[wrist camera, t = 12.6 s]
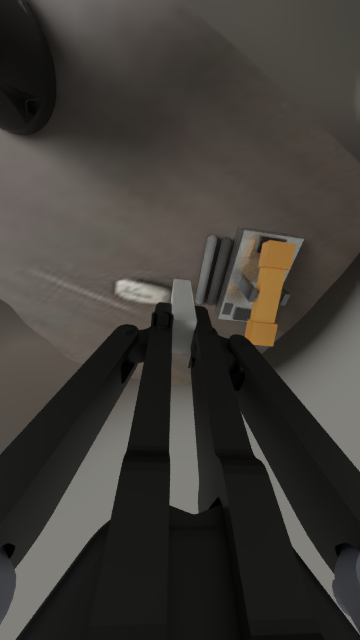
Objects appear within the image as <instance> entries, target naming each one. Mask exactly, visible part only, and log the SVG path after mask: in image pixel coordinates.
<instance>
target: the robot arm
mask: <svg viewBox="0 0 360 640" xmlns="http://www.w3.org/2000/svg"><path fill="white" fill-rule="evenodd" d="M55 97H56V79H55V71H54V65H53V61H52V57H51V53H50V50H49V46H48V44H47V41H46V38H45V36H44V33H43V31H42V29H41V27H40V24H39V22H38V20H37V19H36V17H35V15H34V13H33V11H32V10H31V8H30V7H29V5H28V4H27V2H26V1H25V0H0V128H1V129H3V130H6V131H8V132H11V133H15V134H31V133H34V132H36V131H38V130H40V129H41V128H42V127H43V126H44V125H45V124H46V123H47V122H48V120H49V118H50V116H51V114H52V111H53V108H54V104H55ZM190 350H191V357H190V362H189V366H188V368H190V367H191V380H192V392H193V406H194V419H195V431H196V444H197V458H198V471H199V492H198V510H199V513H198V514H190V513H188V512H185V511H183V510H180V509H177V508H175V507H172V506H170V505H169V498H170V496H169V495H170V456H169V431H170V429H169V428H170V397H171V394H170V393H171V362H172V353H180V354H190ZM140 362H144V365H143V370H142V375H141V381H140V386H139V391H138V396H137V401H136V406H135V411H134V417H133V422H132V427H131V432H130V437H129V442H128V447H127V451H126V454H125V456H124V459H123V462H122V467H121V472H120V476H119V481H118V486H117V491H116V496H115V501H114V506H113V510H112V515H111V520H109V521H108V522H107V523H106V524H104V525H103V526H102V527H101V528H100V529H99V530H98V531H97V532H96V533H95V534H94V535H93V537H92V538H91V539H90V540H89V541H88V543H87V544H86V545H85V547H84V548H83V549H82V551H81V552H80V553H79V555H78V556H77V557H76V559H75V560H74V561H73V563H72V564H71V565H70V567H69V568H68V570H67V571H66V572H65V574H64V575H63V576H62V578H61V579H60V581H59V582H58V583H57V585H56V586H55V587H54V589H53V590H52V591H51V592H50V594H49V596H48V597H47V598H46V599H45V601H44V602H43V603H42V605H41V606H40V607H39V609H38V610H37V611H36V613H35V614H34V615H33V617H32V618H31V619H30V621H29V622H28V624H27V625H26V626H25V628H24V629H23V630H22V632H21V633H20V635H19V636H18V637H17V638H16V640H360V635H359V633H360V472H359V470H358V469H357V468H356V467H355V466H354V465H353V463H352V462H351V461H350V460H349V459H348V457H347V456H346V455H345V454H344V453H343V451H342V450H341V449H340V448H339V447H338V445H337V444H336V443H335V442H334V441H333V439H332V438H331V437H330V436H329V435H328V433H327V432H326V431H325V430H324V429H323V428H322V427H321V425H320V424H319V423H318V422H317V420H316V419H315V418H314V417H313V416H312V414H311V413H310V412H309V411H308V410H307V409H306V407H305V406H304V405H303V404H302V403H301V401H300V400H299V399H298V398H297V396H296V395H295V394H294V393H293V392H292V391H291V389H290V388H289V387H288V386H287V385H286V383H285V382H284V381H283V380H282V379H281V377H280V376H279V375H278V374H277V373H276V372H275V371H274V369H273V368H272V367H271V365H270V364H269V363H268V362H267V361H266V360H265V358H264V357H263V356H262V355H261V354H260V352H259V351H258V350H257V349H256V348H255V346H254V345H253V344H252V343H251V342H250V340H248V339H247V338H246V337H244V336H242V335H232V336H230V338H229V339H227V338H224V337H221V336H219V335H218V333H217V331H216V330H215V329H214V328H213V327H212V325H211V321H210V318H209V315H208V310H207V309H206V308H205V307H202V306H194V301H193V294H192V288H191V282H190V281H188V280H180V279H174V281H173V290H172V298H171V303H162V302H159V303H158V304H157V305H156V308H155V312H153V313H152V320H151V327H149V328H147V329H144V330H138V328H137V327H136V326H134V325H129V324H126V325H121V326H119V327H117V328H116V329H115V330H114V331H113V333H112V334H111V335H110V336H109V337H108V338H107V339H106V340H105V341H104V342H103V343H102V345H101V346H100V347H99V348H98V349H97V350H96V351H95V352H94V353H93V354H92V355H91V357H90V358H89V359H88V360H87V361H86V362H85V363H84V364H83V365H82V367H81V368H80V369H79V370H78V371H77V372H76V373H75V374H74V375H73V376H72V377H71V378H70V380H68V382H67V383H66V384H65V385H64V386H63V387H62V388H61V389H60V390H59V392H57V394H56V395H55V396H54V397H53V398H52V399H51V400H50V401H49V402H48V403H47V404H46V406H45V407H44V408H43V409H42V410H41V411H40V412H39V413H38V414H37V416H35V418H34V419H33V420H32V421H31V422H30V423H29V424H28V425H27V426H26V428H25V429H24V430H23V431H22V432H21V433H20V434H19V435H18V436H17V437H16V438H15V439H14V440H13V441H12V443H11V444H10V445H9V446H8V447H7V448H6V449H5V450H4V451H3V452H2V454H1V455H0V624H1V622H2V620H3V619H4V617H5V615H6V613H7V611H8V609H9V606H10V604H11V601H12V599H13V595H14V591H15V587H16V574H15V570H14V569H15V568H16V567H17V565H18V564H19V563H20V562H21V560H22V559H23V558H24V556H25V555H26V553H27V552H28V551H29V549H30V548H31V546H32V545H33V544H34V542H35V541H36V539H37V538H38V536H39V535H40V533H41V532H42V530H43V528H44V527H45V525H46V524H47V522H48V520H49V519H50V517H51V516H52V514H53V512H54V510H55V509H56V507H57V505H58V503H59V501H60V500H61V498H62V496H63V495H64V493H65V491H66V489H67V488H68V486H69V484H70V482H71V481H72V479H73V477H74V475H75V474H76V472H77V470H78V468H79V467H80V465H81V463H82V461H83V460H84V458H85V456H86V455H87V453H88V451H89V449H90V448H91V445H92V444H93V442H94V441H95V439H96V437H97V435H98V434H99V432H100V430H101V428H102V426H103V425H104V423H105V421H106V420H107V418H108V416H109V414H110V413H111V411H112V409H113V407H114V406H115V404H116V402H117V400H118V399H119V397H120V395H121V393H122V392H123V390H124V388H125V386H126V385H127V383H128V381H129V379H130V378H131V376H132V374H133V372H134V371H135V369H136V367H137V365H138V363H140ZM241 368H242V369H243V370H242V369H241ZM241 413H242V414H243V416H244V418H245V420H246V422H247V424H248V426H249V428H250V429H251V431H252V433H253V435H254V437H255V439H256V440H257V443H258V444H259V446H260V448H261V450H262V452H263V454H264V456H265V458H266V459H267V461H268V463H269V465H270V467H271V469H272V470H273V472H274V474H275V476H276V478H277V480H278V482H279V484H280V486H281V488H282V489H283V491H284V493H285V495H286V497H287V499H288V501H289V503H290V504H291V506H292V508H293V510H294V512H295V514H296V516H297V518H298V519H299V521H300V523H301V525H302V526H303V528H304V530H305V531H306V533H307V535H308V537H309V538H310V540H311V541H312V542H313V544H314V546H315V547H316V549H317V551H318V552H319V553H320V555H321V557H322V558H323V559H324V561H325V562H326V564H327V565H328V566H329V568H330V569H331V570H332V572H333V573H334V574H335V579H334V580H333V583H332V588H333V593H334V596H335V598H336V601H337V603H338V605H339V606H340V607H341V608H342V610H343V611H344V612H345V613H346V614H347V615H349V616H350V617H351V618H352V620H353V622H354V624H355V625H356V627H357V629H358V631H359V633H358V632H357V631H356V630H355V628H354V627H353V626H352V624H351V623H350V622H349V620H348V619H347V618H346V616H345V615H344V614H343V612H342V611H341V610H340V609H339V607H338V606H337V605H336V603H335V602H334V601H333V599H332V598H331V597H330V595H329V594H328V593H327V591H326V590H325V589H324V588H323V586H322V585H321V584H320V582H319V581H318V580H317V578H316V577H315V576H314V574H313V573H312V572H311V570H310V569H309V568H308V567H307V565H306V564H305V563H304V561H303V560H302V559H301V557H300V556H299V555H298V553H297V552H296V551H295V549H294V548H293V547H292V545H291V542H290V539H289V536H288V533H287V530H286V527H285V524H284V521H283V518H282V514H281V511H280V508H279V505H278V502H277V499H276V496H275V493H274V490H273V487H272V484H271V481H270V478H269V475H268V473H267V470H266V468H265V466H264V464H263V463H262V461H260V460H259V459H257V458H256V457H255V456H254V454H253V452H252V449H251V445H250V442H249V438H248V435H247V431H246V428H245V425H244V421H243V418H242V415H241Z"/></svg>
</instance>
